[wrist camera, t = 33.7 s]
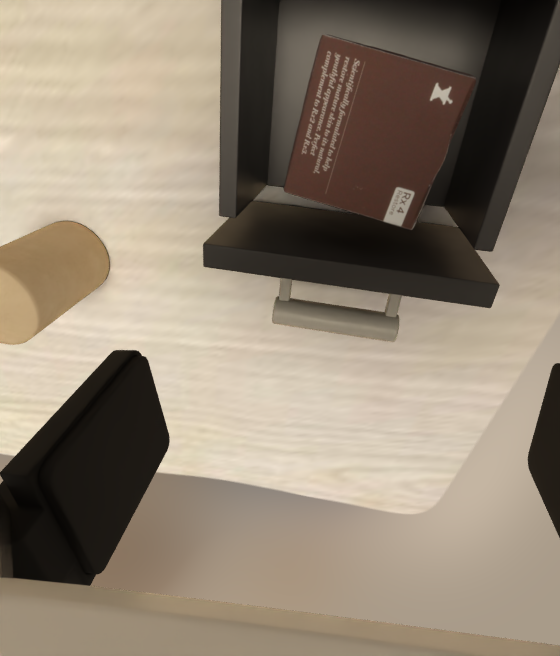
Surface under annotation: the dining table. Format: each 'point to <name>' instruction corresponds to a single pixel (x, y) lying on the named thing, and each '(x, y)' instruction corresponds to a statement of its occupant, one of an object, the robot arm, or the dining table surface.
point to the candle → (47, 277)
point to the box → (374, 130)
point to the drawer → (450, 182)
